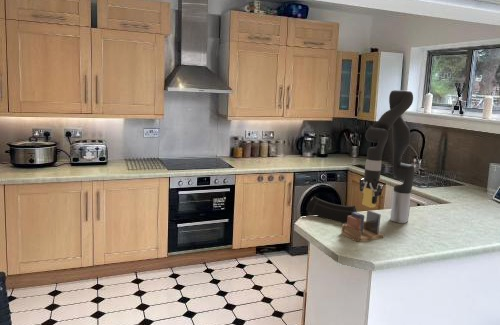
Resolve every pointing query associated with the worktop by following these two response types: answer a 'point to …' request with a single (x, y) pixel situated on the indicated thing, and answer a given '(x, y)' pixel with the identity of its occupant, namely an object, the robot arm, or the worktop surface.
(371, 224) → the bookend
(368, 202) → the book
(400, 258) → the worktop surface
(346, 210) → the magazine
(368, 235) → the shelf
